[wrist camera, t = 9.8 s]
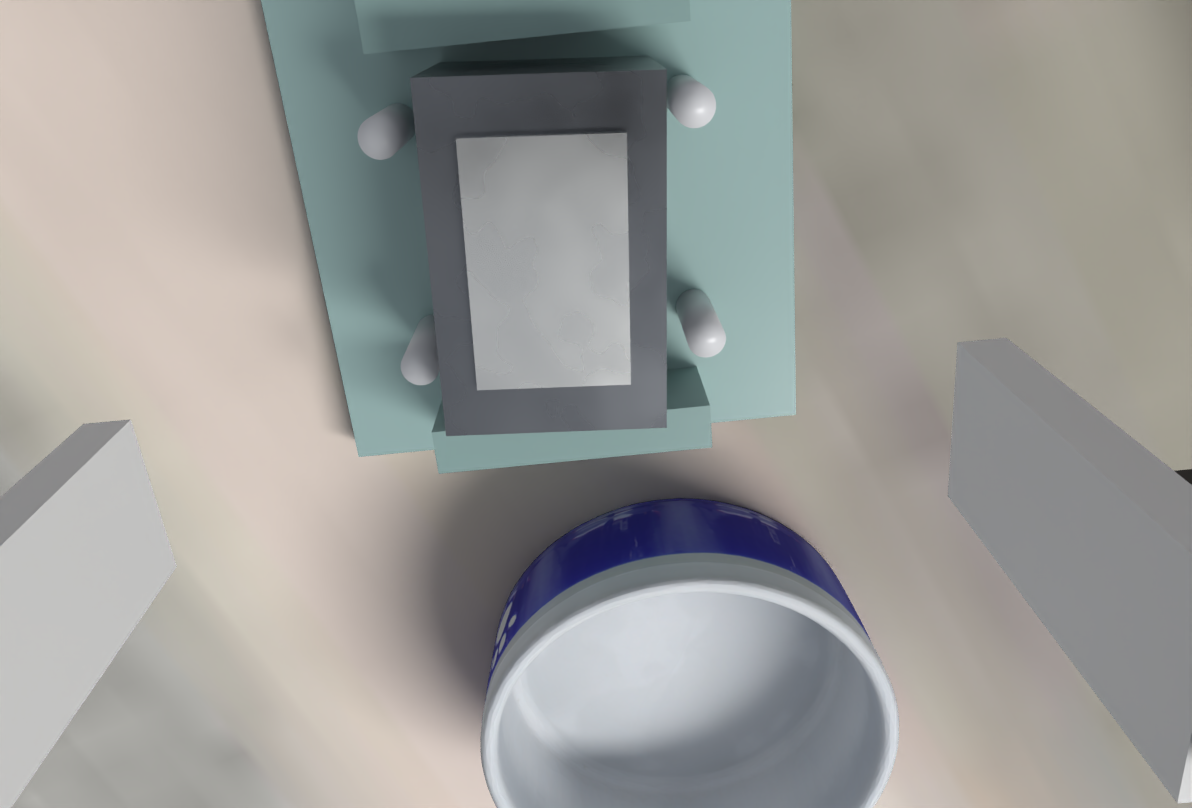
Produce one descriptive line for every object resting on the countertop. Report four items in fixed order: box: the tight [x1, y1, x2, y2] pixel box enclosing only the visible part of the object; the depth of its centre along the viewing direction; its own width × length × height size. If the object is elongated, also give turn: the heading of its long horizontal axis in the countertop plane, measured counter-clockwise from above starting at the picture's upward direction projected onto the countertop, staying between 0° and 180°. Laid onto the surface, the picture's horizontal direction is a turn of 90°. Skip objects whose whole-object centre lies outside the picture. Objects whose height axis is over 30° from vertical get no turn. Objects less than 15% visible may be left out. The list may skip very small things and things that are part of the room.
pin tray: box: [261, 0, 796, 474], centre depth 30 cm, size 16×16×4 cm
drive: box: [410, 55, 667, 436], centre depth 29 cm, size 10×6×6 cm, turn 2°
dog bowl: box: [481, 498, 899, 808], centre depth 37 cm, size 15×15×6 cm
